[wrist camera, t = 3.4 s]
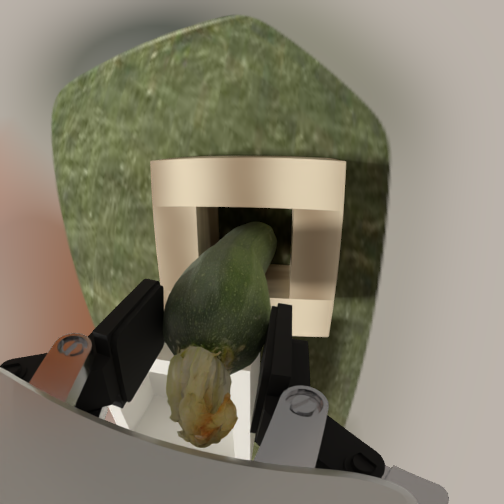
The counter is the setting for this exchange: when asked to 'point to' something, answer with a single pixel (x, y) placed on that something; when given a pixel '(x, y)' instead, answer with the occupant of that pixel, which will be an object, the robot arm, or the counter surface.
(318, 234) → the holder
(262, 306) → the vegetable
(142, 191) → the counter surface
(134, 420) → the bin
